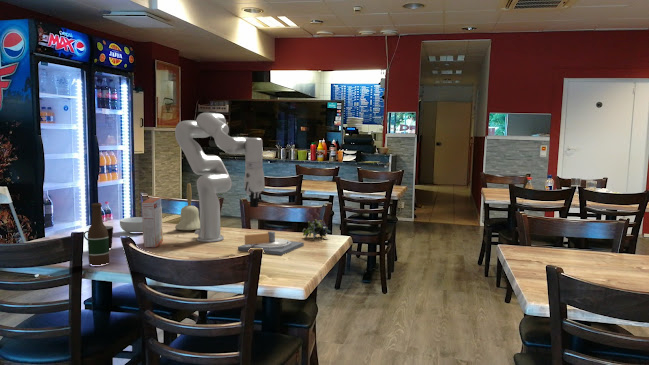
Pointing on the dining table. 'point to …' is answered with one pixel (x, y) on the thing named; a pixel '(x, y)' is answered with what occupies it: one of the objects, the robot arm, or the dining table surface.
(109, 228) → the coffee mug
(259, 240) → the dial
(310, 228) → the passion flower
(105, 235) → the beer bottle
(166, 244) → the dining table surface
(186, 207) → the handbell
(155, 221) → the cracker box
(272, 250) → the dial base
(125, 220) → the cereal bowl
